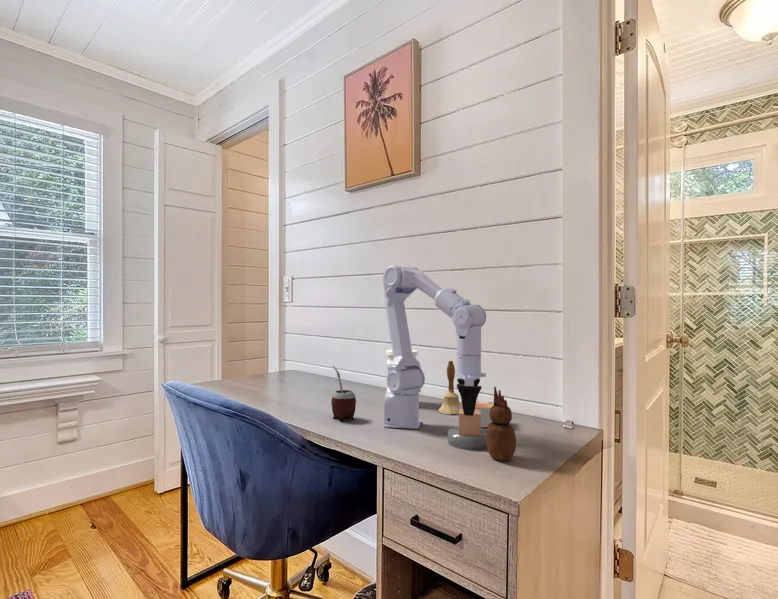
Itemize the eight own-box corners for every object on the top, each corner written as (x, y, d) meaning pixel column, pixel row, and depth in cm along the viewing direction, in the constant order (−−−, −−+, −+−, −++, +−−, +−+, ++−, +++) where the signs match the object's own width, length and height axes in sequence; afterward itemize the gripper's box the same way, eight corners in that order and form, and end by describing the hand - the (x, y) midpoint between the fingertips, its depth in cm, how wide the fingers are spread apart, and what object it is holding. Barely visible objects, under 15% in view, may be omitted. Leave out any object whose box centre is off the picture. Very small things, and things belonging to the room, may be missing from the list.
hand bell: (460, 416, 128) (460, 363, 129) (434, 413, 132) (434, 361, 132) (467, 410, 136) (467, 360, 136) (442, 408, 139) (442, 359, 140)
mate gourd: (353, 422, 120) (353, 369, 121) (325, 421, 121) (326, 368, 122) (357, 416, 128) (358, 365, 128) (332, 415, 129) (332, 365, 129)
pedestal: (446, 448, 98) (447, 437, 99) (448, 435, 108) (448, 425, 108) (491, 450, 97) (491, 439, 97) (488, 437, 107) (488, 427, 107)
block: (458, 434, 101) (458, 413, 101) (459, 429, 105) (459, 408, 106) (480, 436, 100) (480, 414, 100) (479, 430, 105) (479, 409, 105)
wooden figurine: (482, 453, 95) (482, 385, 96) (508, 452, 96) (507, 385, 96) (492, 464, 88) (492, 391, 89) (519, 463, 89) (519, 390, 89)
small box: (499, 408, 115) (460, 405, 117) (499, 428, 115) (460, 426, 117) (498, 401, 123) (461, 399, 125) (498, 421, 123) (461, 419, 125)
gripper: (487, 358, 95) (487, 419, 95) (484, 352, 110) (484, 405, 109) (455, 357, 96) (455, 418, 96) (456, 351, 111) (456, 404, 110)
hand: (468, 411), depth 103 cm, fingers open, 7 cm apart
